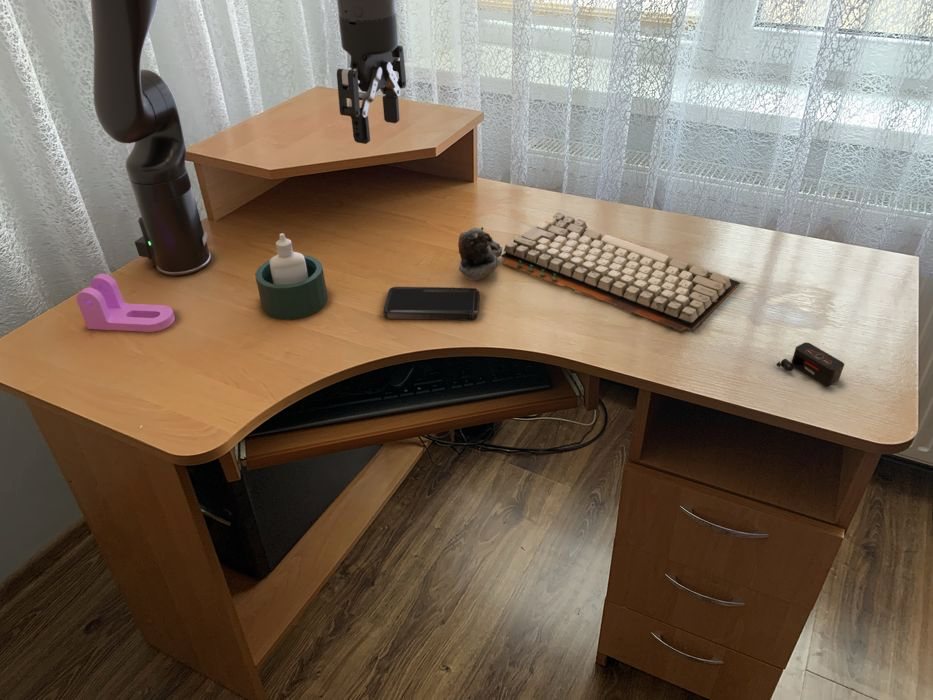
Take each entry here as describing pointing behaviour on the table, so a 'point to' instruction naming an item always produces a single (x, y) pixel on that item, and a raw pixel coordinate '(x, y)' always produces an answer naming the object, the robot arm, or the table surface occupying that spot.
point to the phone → (432, 303)
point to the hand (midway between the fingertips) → (377, 131)
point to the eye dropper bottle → (287, 264)
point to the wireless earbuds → (815, 364)
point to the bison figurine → (477, 253)
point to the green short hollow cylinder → (292, 292)
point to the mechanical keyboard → (618, 272)
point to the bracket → (119, 309)
